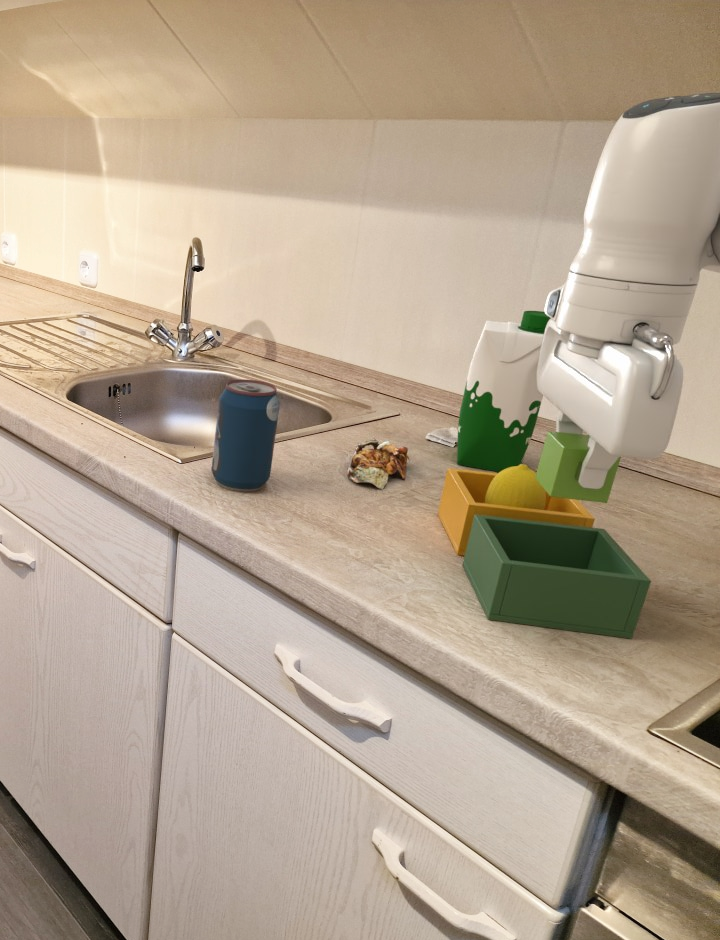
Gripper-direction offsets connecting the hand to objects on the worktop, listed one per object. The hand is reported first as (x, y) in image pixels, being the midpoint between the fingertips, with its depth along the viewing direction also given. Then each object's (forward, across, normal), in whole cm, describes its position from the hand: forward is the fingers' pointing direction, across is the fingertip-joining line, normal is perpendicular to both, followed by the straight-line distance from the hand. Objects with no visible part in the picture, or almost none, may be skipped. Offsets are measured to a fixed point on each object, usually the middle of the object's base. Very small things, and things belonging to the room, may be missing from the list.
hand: (575, 473), depth 74 cm
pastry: (+13, +30, +11) cm, 34 cm away
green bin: (+12, 0, 0) cm, 13 cm away
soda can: (+13, +21, +28) cm, 37 cm away
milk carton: (+13, +39, -4) cm, 41 cm away
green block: (+2, 0, 0) cm, 2 cm away
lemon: (+12, +13, 0) cm, 18 cm away
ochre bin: (+12, +13, 0) cm, 18 cm away
